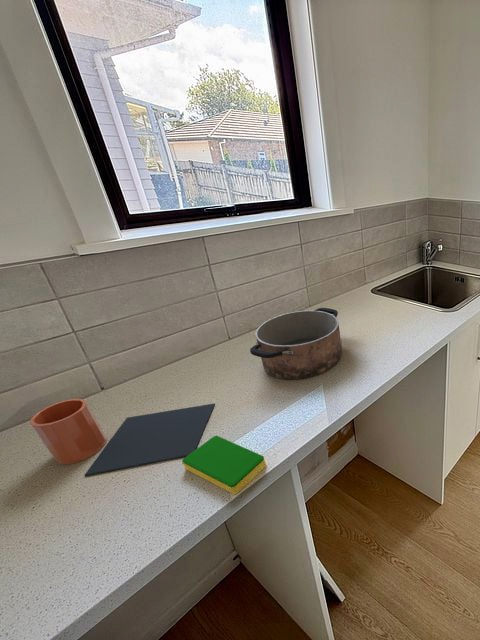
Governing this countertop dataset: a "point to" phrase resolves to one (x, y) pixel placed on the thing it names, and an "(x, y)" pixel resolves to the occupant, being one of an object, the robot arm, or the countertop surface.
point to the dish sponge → (224, 464)
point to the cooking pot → (299, 343)
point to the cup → (69, 431)
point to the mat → (153, 439)
